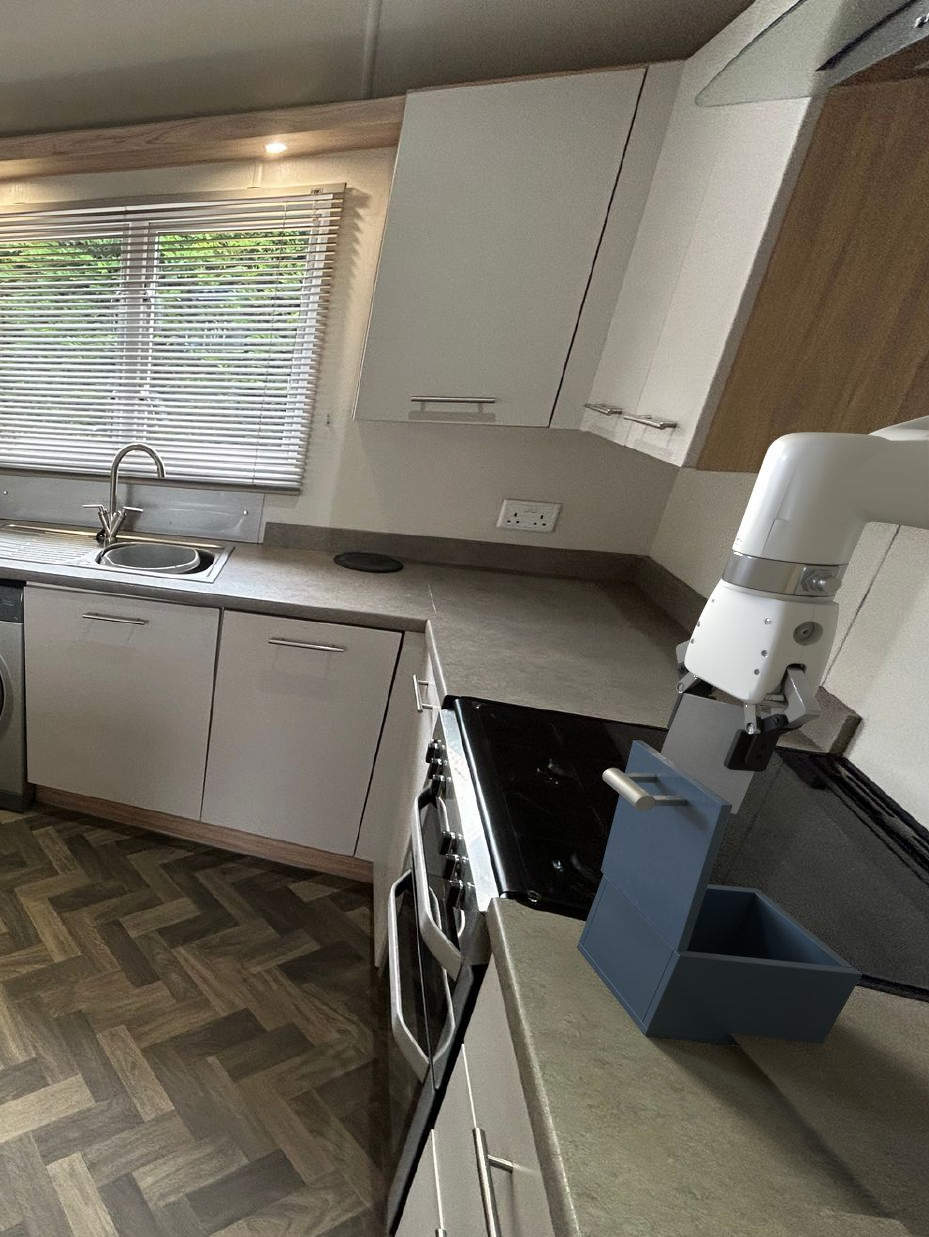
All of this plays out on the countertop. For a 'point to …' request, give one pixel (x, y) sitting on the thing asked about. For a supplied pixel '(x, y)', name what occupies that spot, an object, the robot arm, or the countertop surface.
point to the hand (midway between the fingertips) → (712, 748)
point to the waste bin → (718, 969)
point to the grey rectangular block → (708, 745)
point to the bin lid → (663, 841)
